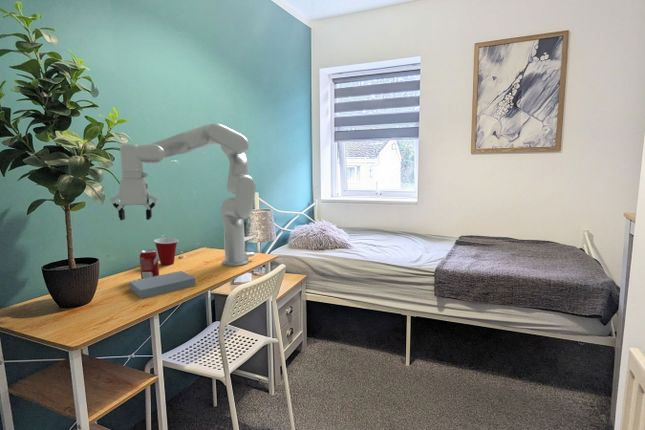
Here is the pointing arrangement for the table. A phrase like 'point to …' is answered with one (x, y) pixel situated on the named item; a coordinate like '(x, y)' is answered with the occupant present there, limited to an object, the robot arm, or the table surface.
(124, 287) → the table surface
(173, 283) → the block
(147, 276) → the soda can
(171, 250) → the plastic cup
